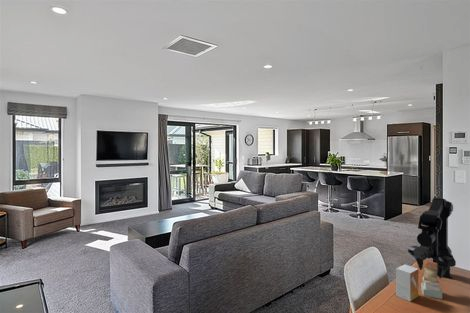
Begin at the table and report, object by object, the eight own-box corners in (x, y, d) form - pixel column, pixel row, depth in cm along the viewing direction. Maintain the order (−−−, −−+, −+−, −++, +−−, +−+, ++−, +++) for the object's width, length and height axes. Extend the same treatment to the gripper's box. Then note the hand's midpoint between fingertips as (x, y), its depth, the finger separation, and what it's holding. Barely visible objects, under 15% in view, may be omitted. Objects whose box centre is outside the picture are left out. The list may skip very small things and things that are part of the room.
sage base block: (421, 289, 133) (421, 282, 132) (438, 292, 129) (438, 285, 129) (423, 296, 126) (423, 289, 126) (442, 300, 123) (442, 292, 123)
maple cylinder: (423, 276, 131) (423, 266, 131) (436, 278, 129) (436, 268, 129) (425, 281, 127) (424, 270, 126) (438, 283, 124) (438, 272, 124)
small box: (410, 302, 121) (410, 273, 121) (395, 295, 127) (395, 268, 126) (419, 296, 126) (418, 268, 125) (404, 290, 131) (404, 263, 131)
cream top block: (422, 283, 131) (422, 276, 131) (436, 285, 129) (436, 278, 129) (425, 289, 126) (425, 281, 126) (439, 291, 124) (439, 283, 124)
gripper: (399, 236, 134) (399, 268, 134) (438, 249, 116) (438, 286, 116) (416, 234, 137) (416, 264, 138) (456, 246, 119) (456, 281, 120)
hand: (430, 273), depth 128 cm, fingers open, 9 cm apart
